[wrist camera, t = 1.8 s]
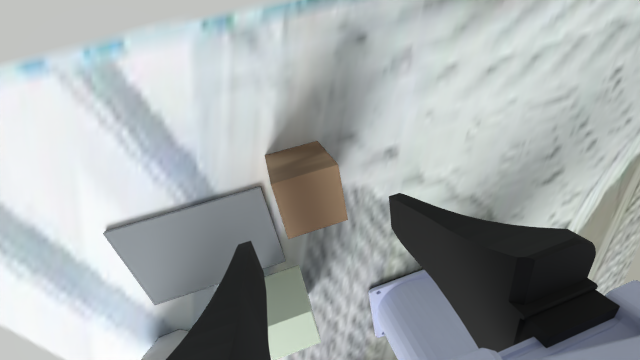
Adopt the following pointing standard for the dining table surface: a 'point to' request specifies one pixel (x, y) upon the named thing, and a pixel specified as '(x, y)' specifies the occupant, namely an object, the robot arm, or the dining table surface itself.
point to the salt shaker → (165, 345)
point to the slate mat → (195, 244)
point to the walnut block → (306, 188)
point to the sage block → (289, 314)
